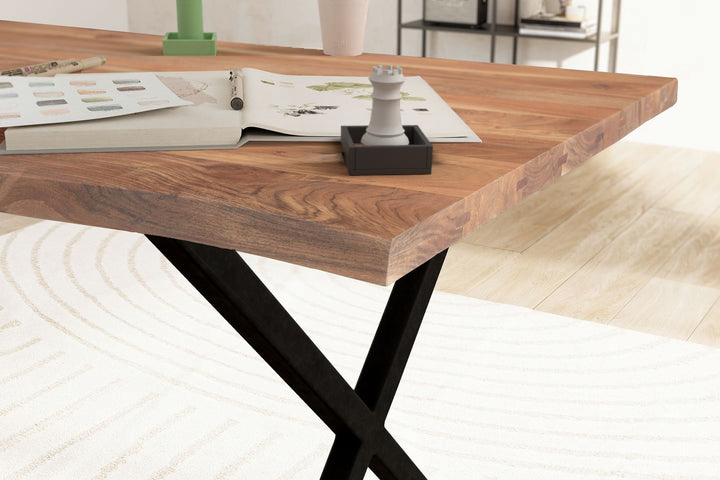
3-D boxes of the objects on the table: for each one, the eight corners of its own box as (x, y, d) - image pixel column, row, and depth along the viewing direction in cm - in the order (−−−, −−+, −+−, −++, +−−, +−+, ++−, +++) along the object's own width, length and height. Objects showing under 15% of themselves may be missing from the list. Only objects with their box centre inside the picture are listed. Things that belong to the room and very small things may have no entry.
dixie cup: (366, 59, 126) (368, -13, 122) (309, 56, 127) (309, -16, 123) (374, 49, 133) (376, -19, 130) (320, 47, 135) (320, -22, 131)
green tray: (163, 58, 123) (162, 40, 122) (167, 49, 130) (166, 32, 129) (215, 58, 124) (214, 40, 123) (217, 49, 131) (216, 32, 130)
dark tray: (349, 175, 76) (349, 147, 75) (340, 151, 82) (340, 125, 81) (431, 174, 76) (433, 146, 76) (416, 150, 83) (417, 124, 82)
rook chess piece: (372, 166, 76) (375, 74, 73) (351, 152, 80) (353, 64, 77) (417, 161, 78) (422, 71, 75) (395, 148, 82) (399, 61, 79)
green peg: (183, 53, 125) (180, -6, 122) (175, 48, 128) (172, -9, 125) (207, 51, 126) (205, -7, 123) (199, 47, 129) (196, -10, 126)
